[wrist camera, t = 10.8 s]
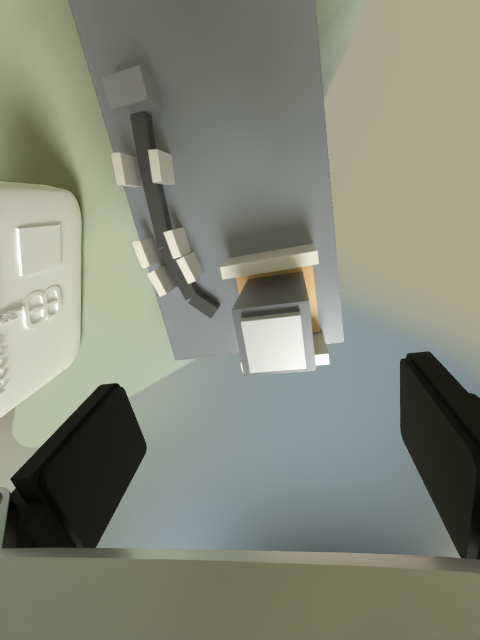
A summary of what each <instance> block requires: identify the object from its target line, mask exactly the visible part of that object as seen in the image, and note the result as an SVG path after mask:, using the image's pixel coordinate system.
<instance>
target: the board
mask: <svg viewBox="0 0 480 640" xmlns="http://www.w3.org/2000/svg"><path fill="white" fill-rule="evenodd" d="M69 4H70V7H71V10H72V14H73V17H74V20H75V24H76V27H77V31H78V34H79V37H80V41H81V44H82V47H83V51H84V54H85V58H86V61H87V64H88V68H89V71H90V74H91V78H92V81H93V84H94V88H95V91H96V95H97V98H98V101H99V105H100V108H101V111H102V115H103V118H104V121H105V125H106V128H107V132H108V135H109V138H110V142H111V145H112V148H113V152H114V153H111V156H112V161H113V167H114V172H115V178H116V183H117V185H119V186H124V189H125V192H126V196H127V199H128V202H129V206H130V209H131V212H132V216H133V219H134V223H135V226H136V229H137V233H138V236H139V239H140V240H139V241H136V242H133V243H132V244H133V247H134V249H135V252H136V254H137V256H138V259H139V261H140V264H141V266H142V268H145V267H148V270H149V273H148V274H147V275H148V276H149V278H150V280H151V282H152V284H153V286H154V290H155V293H156V297H157V300H158V303H159V307H160V310H161V313H162V317H163V320H164V324H165V327H166V330H167V334H168V337H169V340H170V344H171V347H172V350H173V354H174V357H175V360H183V359H192V358H201V357H210V356H220V355H229V354H238V353H240V351H239V346H238V341H237V336H236V331H235V326H234V320H233V315H232V308H233V306H234V304H235V302H236V301H237V299H238V297H239V295H240V293H241V291H242V289H243V287H244V285H245V283H246V282H247V280H248V279H252V278H259V277H266V276H273V275H280V274H288V273H295V272H302V271H303V275H304V280H305V284H306V289H307V293H308V298H309V304H310V314H311V324H312V334H313V344H314V354H315V364H316V365H326V364H329V354H328V350H327V346H326V344H331V343H340V342H344V336H343V326H342V325H343V324H342V312H341V301H340V288H339V277H338V265H337V254H336V241H335V229H334V218H333V206H332V194H331V183H330V171H329V159H328V147H327V136H326V124H325V112H324V100H323V88H322V76H321V64H320V53H319V41H318V29H317V17H316V5H315V0H69ZM241 368H242V372H243V367H242V362H241Z"/></svg>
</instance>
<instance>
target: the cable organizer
mask: <svg viewBox="0 0 480 640" xmlns="http://www.w3.org/2000/svg"><path fill="white" fill-rule="evenodd" d="M81 241H82V219H81V212H80V207H79V204H78V202H77V200H76V198H75V196H74V195H73V194H72V193H71V192H70V191H68V190H65V189H61V188H57V187H53V186H48V185H42V184H29V183H16V182H3V181H0V418H1V417H2V416H3V415H5V414H6V413H7V412H9V411H10V410H11V409H13V408H14V407H15V406H17V405H18V404H19V403H21V402H22V401H23V400H25V399H26V398H27V397H29V396H30V395H31V394H33V393H34V392H35V391H37V390H38V389H39V388H41V387H42V386H43V385H45V384H46V383H47V382H49V381H50V380H51V379H53V378H54V377H55V376H57V375H58V374H59V373H61V372H62V371H63V370H65V369H66V368H68V367H69V366H70V365H71V363H72V362H73V361H74V359H75V357H76V355H77V353H78V349H79V345H80V339H81Z"/></svg>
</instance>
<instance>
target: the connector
mask: <svg viewBox="0 0 480 640" xmlns="http://www.w3.org/2000/svg"><path fill="white" fill-rule="evenodd" d="M232 315H233V320H234V326H235V331H236V336H237V341H238V346H239V351H240V356H241V362H242V367H243V372H244V376H250V375H263V374H276V373H290V372H304V371H316V364H315V354H314V344H313V334H312V324H311V314H310V304H309V298H308V293H307V289H306V284H305V280H304V275H303V271H302V272H295V273H288V274H280V275H273V276H266V277H259V278H252V279H248V280H247V282H246V283H245V285H244V287H243V289H242V291H241V293H240V295H239V297H238V299H237V301H236V302H235V304H234V306H233V308H232Z"/></svg>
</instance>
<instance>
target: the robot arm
mask: <svg viewBox="0 0 480 640" xmlns="http://www.w3.org/2000/svg"><path fill="white" fill-rule="evenodd" d="M400 412H401V413H400V417H401V418H400V423H401V424H400V426H401V427H400V428H401V435H402V438H403V441H404V443H405V445H406V447H407V449H408V451H409V453H410V455H411V457H412V460H413V461H414V464H415V465H416V468H417V470H418V472H419V474H420V476H421V478H422V480H423V482H424V484H425V486H426V488H427V490H428V492H429V494H430V496H431V498H432V500H433V502H434V504H435V507H436V509H437V511H438V512H439V515H440V517H441V519H442V521H443V523H444V525H445V527H446V529H447V531H448V533H449V535H450V537H451V539H452V541H453V543H454V545H455V547H456V550H457V551H458V553H459V555H460V557H461V558H451V557H438V556H413V555H389V554H366V553H327V552H285V551H242V550H240V551H238V550H185V549H122V548H121V549H120V548H96V546H97V544H98V543H99V541H100V539H101V537H102V535H103V533H104V531H105V529H106V527H107V525H108V524H109V522H110V520H111V518H112V516H113V514H114V512H115V510H116V508H117V507H118V505H119V503H120V501H121V499H122V497H123V495H124V493H125V491H126V490H127V487H128V486H129V484H130V482H131V480H132V478H133V476H134V474H135V472H136V471H137V469H138V467H139V465H140V463H141V461H142V459H143V457H144V455H145V453H146V448H147V447H146V442H145V439H144V437H143V435H142V432H141V429H140V427H139V425H138V422H137V419H136V417H135V414H134V412H133V409H132V407H131V404H130V402H129V399H128V397H127V394H126V392H125V390H124V388H123V387H120V385H119V384H117V383H113V384H104V385H100V386H99V387H98V388H97V389H96V390H95V391H94V392H93V393H92V394H91V395H90V396H89V397H88V398H87V399H86V400H85V401H84V402H83V403H82V404H81V405H80V406H79V408H78V409H77V410H76V411H75V412H74V413H73V414H72V415H71V416H70V417H69V418H68V419H67V420H66V421H65V422H64V423H63V424H62V425H61V426H60V427H59V428H58V429H57V431H56V432H55V433H54V434H53V435H52V436H51V437H50V438H49V439H48V440H47V441H46V442H45V443H44V444H43V445H42V446H41V447H40V448H39V450H37V452H35V454H34V455H33V456H32V457H31V458H30V459H29V460H28V461H27V462H26V463H25V464H24V465H23V466H22V467H21V468H20V469H19V470H18V471H17V472H16V473H15V474H14V475H13V477H12V478H11V481H12V483H13V484H14V486H15V487H16V489H15V490H14V491H13V492H12V493H10V491H9V490H8V489H6V488H2V487H0V640H480V398H479V397H478V396H476V395H475V394H472V393H468V392H467V391H466V390H465V389H464V388H463V387H462V386H461V384H460V383H459V382H458V381H457V380H456V379H455V378H454V377H453V376H452V375H451V374H450V373H449V372H448V371H447V369H446V368H445V367H444V366H443V365H442V364H441V363H440V362H439V361H438V360H437V359H436V358H435V357H434V356H433V354H431V353H430V352H419V353H409V354H407V356H406V359H401V361H400Z"/></svg>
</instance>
